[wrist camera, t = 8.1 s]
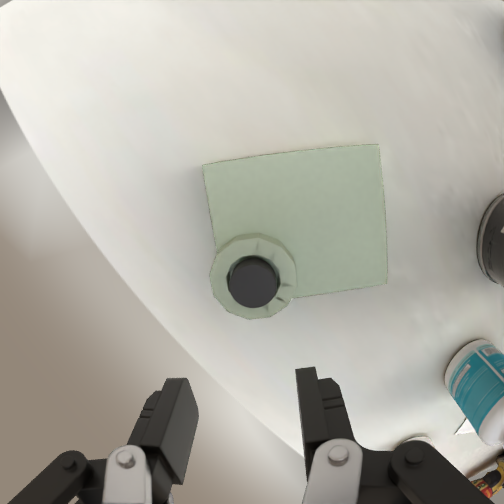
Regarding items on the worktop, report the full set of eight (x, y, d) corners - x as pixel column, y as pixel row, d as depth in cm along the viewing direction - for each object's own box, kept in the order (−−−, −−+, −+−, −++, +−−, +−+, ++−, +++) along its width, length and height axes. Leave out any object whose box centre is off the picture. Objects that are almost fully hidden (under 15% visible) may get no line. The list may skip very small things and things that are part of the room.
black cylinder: (273, 254, 22) (273, 261, 20) (278, 296, 23) (279, 305, 21) (227, 260, 22) (225, 267, 21) (235, 301, 23) (233, 311, 21)
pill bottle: (444, 398, 29) (490, 475, 16) (438, 358, 28) (499, 442, 15) (491, 367, 28) (545, 433, 15) (490, 325, 26) (560, 391, 13)
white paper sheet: (539, 367, 28) (544, 372, 27) (500, 426, 32) (504, 432, 30) (498, 368, 28) (504, 374, 26) (454, 434, 31) (458, 441, 30)
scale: (370, 144, 22) (386, 142, 19) (379, 281, 25) (394, 298, 22) (199, 166, 23) (189, 166, 20) (224, 303, 26) (219, 323, 23)
